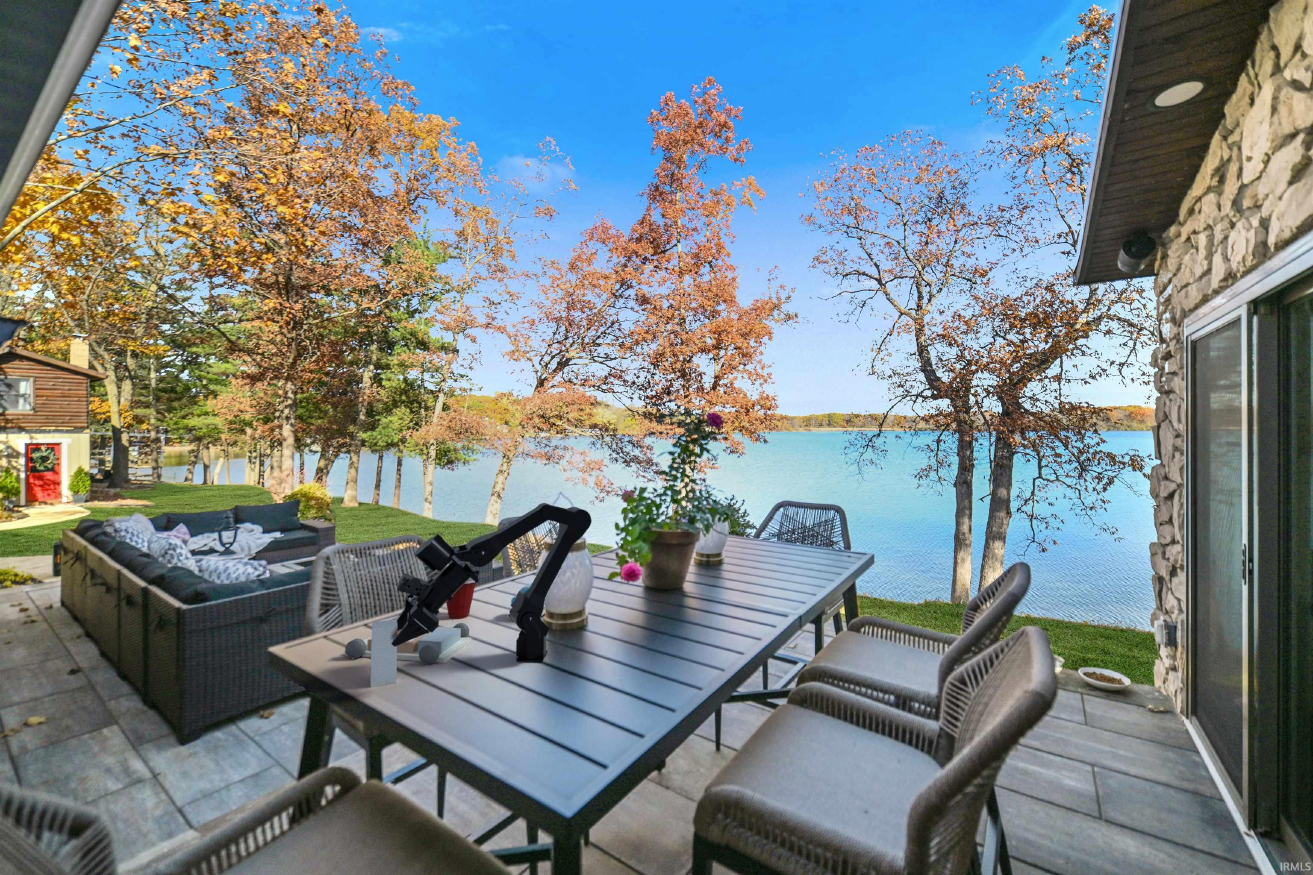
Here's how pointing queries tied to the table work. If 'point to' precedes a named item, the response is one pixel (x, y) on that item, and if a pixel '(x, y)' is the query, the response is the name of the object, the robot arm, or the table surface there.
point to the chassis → (420, 645)
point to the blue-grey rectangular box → (383, 653)
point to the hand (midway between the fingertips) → (392, 638)
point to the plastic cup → (461, 601)
